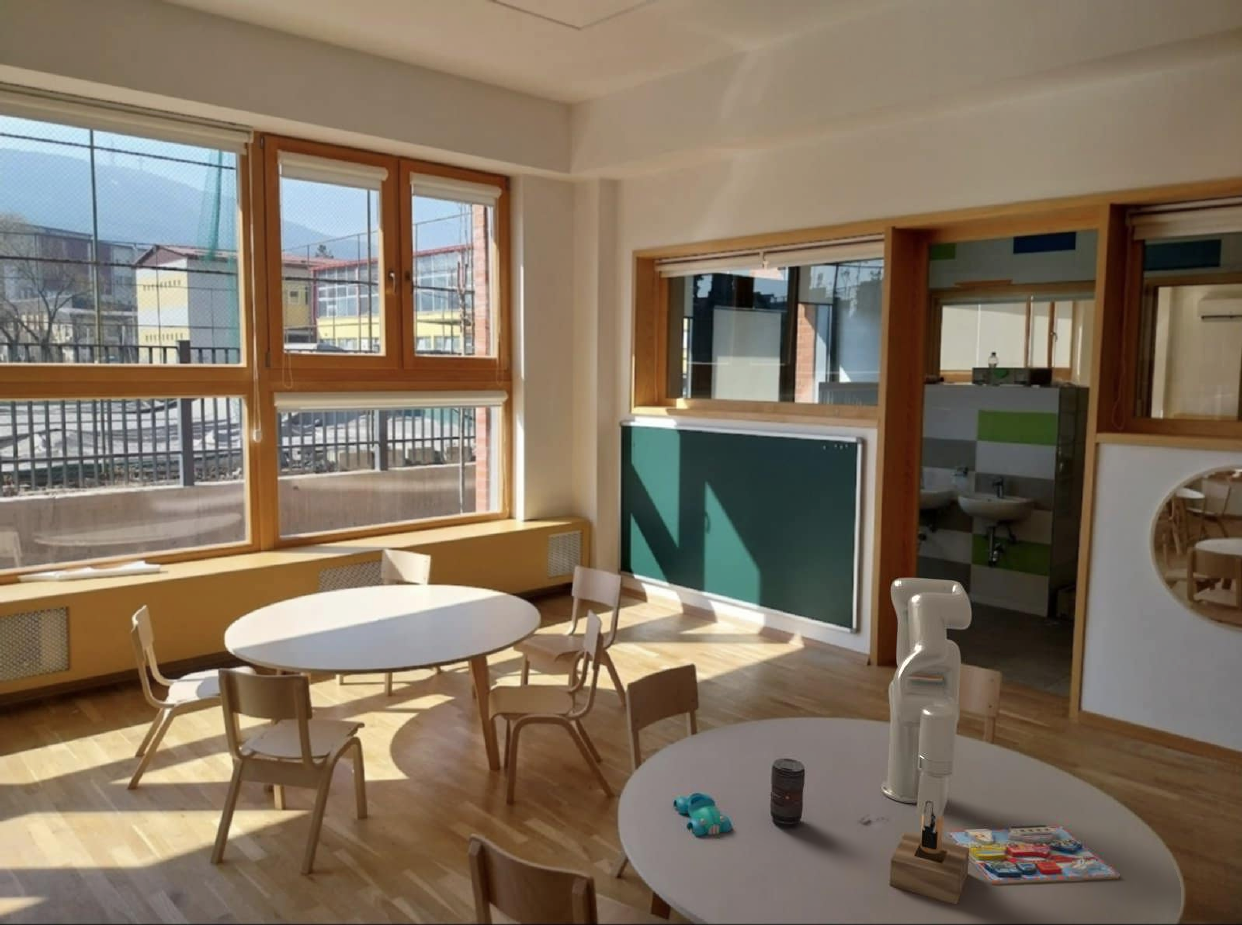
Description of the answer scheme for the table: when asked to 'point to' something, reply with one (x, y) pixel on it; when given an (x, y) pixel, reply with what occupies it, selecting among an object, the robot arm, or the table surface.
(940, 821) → the peg
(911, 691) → the robot arm
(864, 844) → the table surface
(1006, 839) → the puzzle board
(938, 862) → the socket block
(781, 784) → the camera lens
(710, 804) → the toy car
